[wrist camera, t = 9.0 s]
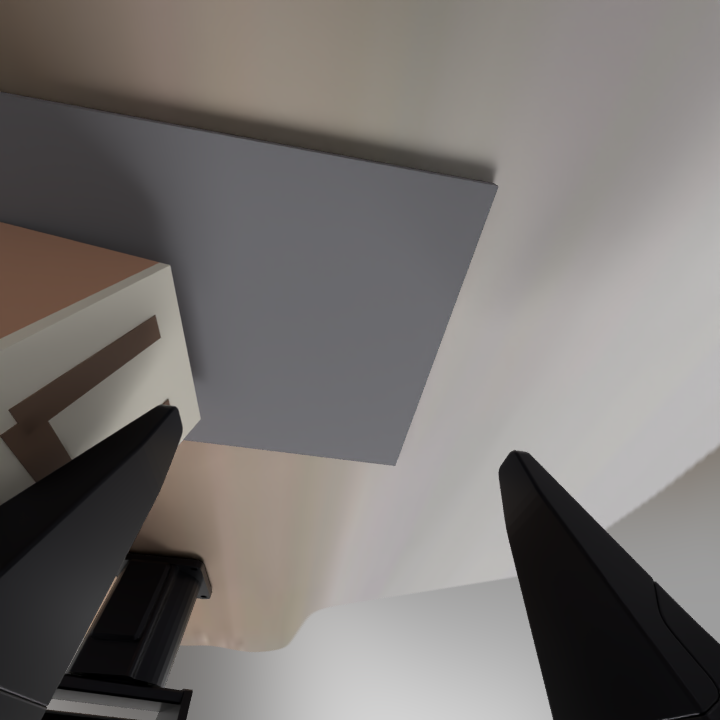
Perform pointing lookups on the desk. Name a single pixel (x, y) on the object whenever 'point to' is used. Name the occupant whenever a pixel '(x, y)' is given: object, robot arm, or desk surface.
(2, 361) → the cube
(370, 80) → the desk surface
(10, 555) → the robot arm
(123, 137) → the mat
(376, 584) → the desk surface
